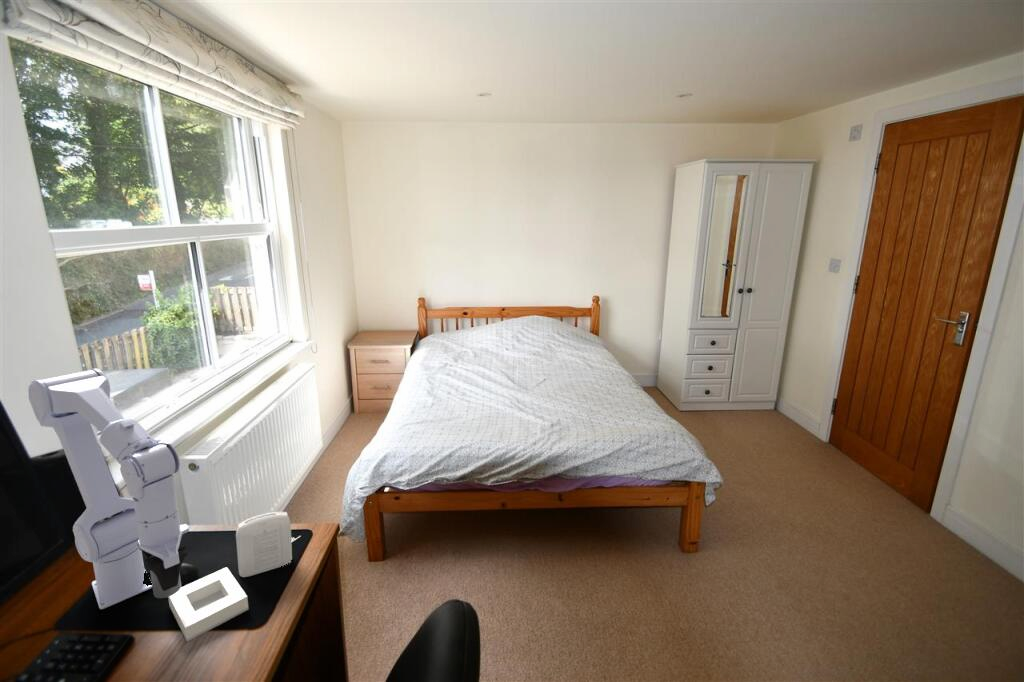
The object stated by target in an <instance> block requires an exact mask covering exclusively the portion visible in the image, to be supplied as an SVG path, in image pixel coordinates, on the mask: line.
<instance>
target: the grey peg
mask: <svg viewBox="0 0 1024 682" xmlns="http://www.w3.org/2000/svg"><path fill="white" fill-rule="evenodd" d="M153 556H154V555H152V556H151V557H153ZM151 557H150V558H151ZM149 572H150V581H151V583H152V592H153V596H154V597H155V598H157V599H165V598H166V599H167V598H168V597H169V596H171V595H173V594H175V593H176V592H177V591H179V589H180V588H181V587H182V581H181V580H182V579H181V573H180V574H179V580H178V585H177V586H175V587H173V588H170V589H168V590H166V591H163V590H162V588H161V586H160V584H159V581H158V579H157V576H156V575H155V573H154V572H152V571H151V570H150V569H149Z"/></svg>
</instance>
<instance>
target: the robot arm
mask: <svg viewBox="0 0 1024 682" xmlns="http://www.w3.org/2000/svg"><path fill="white" fill-rule="evenodd" d="M110 397H111V384H110V382H109V378H108V377H107V375H106V374H105V373H104V372H103V371H102V370H100V369H99V368H91V369H89V370H84V371H79V372H74V373H69V374H64V375H59V376H58V375H57V376H54V377H49V378H42V379H35V380H32V381H31V382H30V384H29V385H28V400H29V402H30V405H31V408H32V411H33V413H34V415H35V418H36V420H37V421H38V422H39V423H38V424H39V425H40V427H45V428H46V427H47V428H53V430H54V432H55V434H56V435H57V436H58V440H59V442H60V444H61V446H62V449H63V451H64V454H65V458H66V459H67V462H68V465H69V467H70V469H71V473H72V474H73V477H74V480H75V482H76V484H77V487H78V490H79V492H80V494H81V497H82V500H83V502H84V505H85V507H86V509H85V510H84V511H83V512H82V514H81V515H80V516H79V517H78V518H77V520H76V521H75V522H74V524H73V526H72V532H73V535H74V543H75V544H74V545H75V547H76V550H77V552H78V554H79V555H80V557H81V558H82V559H83V560H84V561H86V562H89V563H92V566H93V572H94V577H95V580H93V581H92V582H91V586H92V590H93V592H94V596H95V598H96V602H97V605H98V608H99V610H104V609H106V608H108V607H111V606H113V605H116V604H118V603H121V602H122V601H125V600H126V599H129V598H132V597H135V596H136V595H139V594H141V593H143V592H146V591H148V590H150V589H153V587H152V585H148V586H147V585H146V584H143V581H144V573H145V571H146V568H145V565H146V566H147V568H148V569H149V571H150V570H151V571H152V572H154V573H155V575H156V576H157V579H158V581H159V584H160V586H161V588H162V590H163V591H166V590H168V589H170V588H173V587H175V586H177V585H178V580H179V574H180V575H181V568H182V564H183V562H184V560H185V558H186V557H187V556H188V550H187V547H186V546H182V547H180V544H181V540H182V536H183V535H184V534H187V533H188V532H189V530H190V529H189V526H188V525H187V523H184V524H183V523H182V524H180V517H179V510H178V509H179V508H178V500H177V495H176V494H177V493H176V492H177V491H176V486H175V479H174V474H176V473H178V472H179V471H180V468H181V467H180V465H181V463H180V458H179V455H178V453H177V450H176V449H175V448H174V446H173V445H172V443H170V442H168V441H162V440H161V439H154V437H152V436H151V434H150V433H148V431H147V430H146V429H145V428H144V427H143V426H142V425H141V424H140V423H139V422H138V421H137V420H135V419H132V418H127V419H126V418H124V416H123V414H121V412H120V411H119V410H118V408H117V407H116V405H115V404H114V403H113V401H112V400H111V398H110ZM93 427H95V428H96V429H97V430H98V431H99V432H101V434H100V435H99V442H100V444H101V445H102V446H103V448H104V449H105V450H106V451H107V452H108V453H109V455H111V456H112V457H113V459H114V460H115V461H116V462H117V463H118V464H119V465H120V467H119V470H120V474H121V476H122V478H123V481H124V482H125V484H126V490H127V492H128V495H129V497H130V496H131V497H132V498H128V497H121V496H120V494H119V493H118V490H117V487H116V485H115V483H114V479H113V478H112V475H111V472H110V469H109V467H108V464H107V463H106V462H107V461H106V460H105V457H104V454H103V452H102V449H101V447H100V444H99V442H98V439H97V437H96V434H95V432H94V429H93ZM118 513H119V514H118ZM116 514H117V515H116ZM109 517H110V518H109ZM104 519H105V520H104ZM99 521H100V522H99ZM97 522H98V523H97ZM179 547H180V548H179ZM143 554H144V555H145V556H146V559H144V557H143ZM152 555H154V556H153V557H151V556H152ZM150 557H151V558H150ZM144 562H145V563H144ZM144 564H145V565H144Z"/></svg>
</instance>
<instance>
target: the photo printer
mask: <svg viewBox="0 0 1024 682" xmlns="http://www.w3.org/2000/svg"><path fill="white" fill-rule="evenodd" d="M291 526H292V525H291V520H290V517H289V515H288V512H287V511H273V512H267V513H261V514H259V515H255V516H252V517H250V518H248V519H245V520H244V521H241V522H240V523H238V524H237V529H236V531H235V539H236V540H235V541H236V553H237V555H236V556H237V565H238V575H239V576H240V577H242V578H246V577H251V576H255V575H258V574H261V573H265V572H268V571H271V570H274V569H278V568H281V566H282V567H285V566H287V565H289V564H291V563H292V561H291V560H293V550H292V549H293V546H292V545H293V542H292V529H291V528H292V527H291ZM288 563H289V564H288ZM286 564H287V565H286ZM284 565H285V566H284Z"/></svg>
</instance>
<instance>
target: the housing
mask: <svg viewBox="0 0 1024 682" xmlns="http://www.w3.org/2000/svg"><path fill="white" fill-rule="evenodd" d="M248 598H249V597H248V595H247V594H246V592H245V590H244V589H243V588H242V587H241V585H240V584H239V582H238V580H237V579H236V578H235V576H234V575H233V574H232V572H231V570H230V569H229V568H228V567H223V568H221V569H219V570H217V571H215V572H213V573H210V574H208V575H205V576H203V577H202V578H199V579H197V580H194V581H193V582H190V583H187V584H185V585H184V586H181V588H180V589H179V591H177V592H176V593H175V594H173V595H171V596H169V597H167V599H168V604H169V609H170V611H171V612H172V614H173V617H174V619H175V620H176V622H177V625H178V627H179V628H180V631H181V632H182V634H183V637H184V639H185V640H186V642H189V641H191V640H193V639H195V638H197V637H199V636H201V635H203V634H205V633H206V632H208V631H210V630H213V629H214V628H217V627H218V626H220V625H222V624H224V623H227V621H230V620H231V619H234V618H236V617H237V616H240V615H241V614H243V613H245V612H246V611H249V601H248V600H249V599H248Z"/></svg>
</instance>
